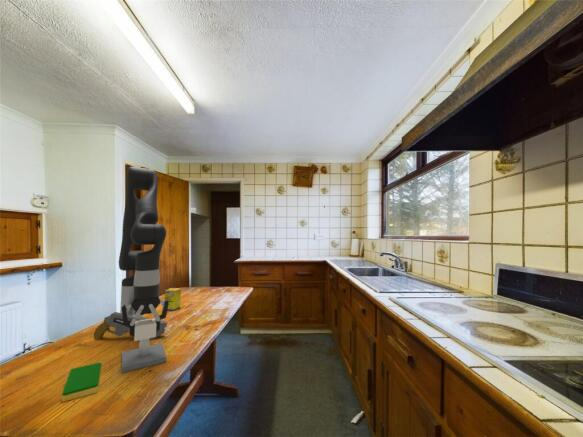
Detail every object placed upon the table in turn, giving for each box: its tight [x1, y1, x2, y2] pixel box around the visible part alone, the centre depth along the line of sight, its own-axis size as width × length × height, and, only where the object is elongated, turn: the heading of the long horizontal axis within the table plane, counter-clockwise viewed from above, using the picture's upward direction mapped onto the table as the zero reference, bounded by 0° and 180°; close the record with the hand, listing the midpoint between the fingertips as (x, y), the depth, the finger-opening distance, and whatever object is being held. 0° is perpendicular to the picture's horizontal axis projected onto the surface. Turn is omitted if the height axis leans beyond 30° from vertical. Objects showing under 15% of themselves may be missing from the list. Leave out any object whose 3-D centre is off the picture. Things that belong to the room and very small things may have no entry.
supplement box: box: [163, 287, 182, 312], centre depth 137 cm, size 6×6×11 cm
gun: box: [93, 311, 168, 341], centre depth 100 cm, size 3×25×15 cm, turn 95°
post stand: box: [121, 338, 167, 374], centre depth 83 cm, size 12×12×8 cm
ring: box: [133, 317, 157, 342], centre depth 83 cm, size 6×6×4 cm
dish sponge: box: [61, 362, 102, 402], centre depth 69 cm, size 7×14×2 cm, turn 34°
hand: (144, 334), depth 83 cm, fingers closed on ring, 6 cm apart
